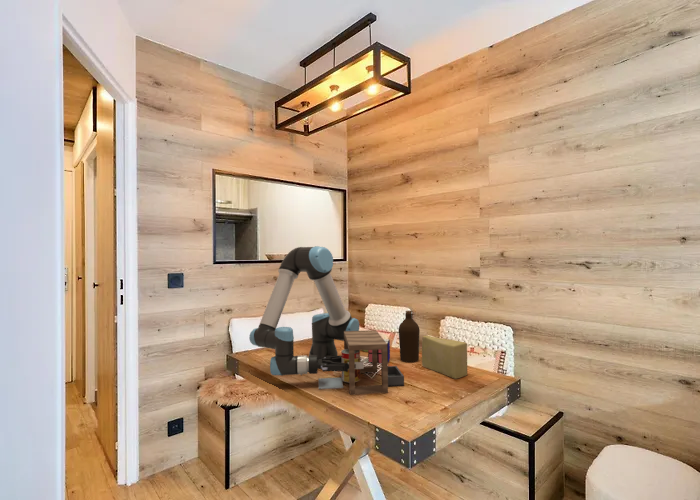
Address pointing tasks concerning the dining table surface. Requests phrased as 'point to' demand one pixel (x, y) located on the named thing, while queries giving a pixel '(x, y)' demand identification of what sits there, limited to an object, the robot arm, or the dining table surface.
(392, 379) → the tray
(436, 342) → the cheese
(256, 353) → the dining table surface
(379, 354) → the puzzle cube
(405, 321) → the olive oil
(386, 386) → the tunnel
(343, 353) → the canned food
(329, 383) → the mat
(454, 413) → the dining table surface
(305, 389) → the dining table surface
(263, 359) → the dining table surface
